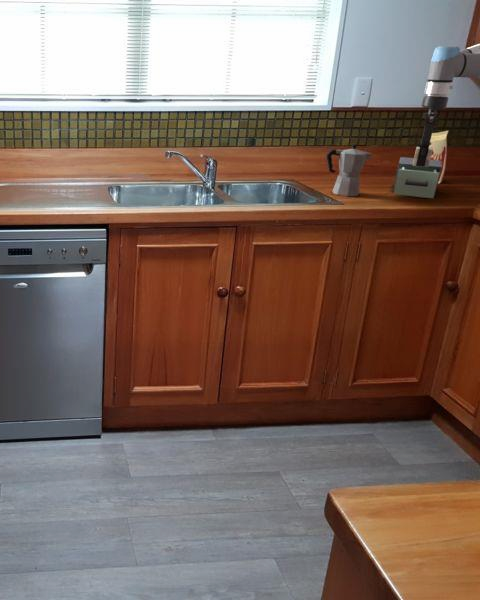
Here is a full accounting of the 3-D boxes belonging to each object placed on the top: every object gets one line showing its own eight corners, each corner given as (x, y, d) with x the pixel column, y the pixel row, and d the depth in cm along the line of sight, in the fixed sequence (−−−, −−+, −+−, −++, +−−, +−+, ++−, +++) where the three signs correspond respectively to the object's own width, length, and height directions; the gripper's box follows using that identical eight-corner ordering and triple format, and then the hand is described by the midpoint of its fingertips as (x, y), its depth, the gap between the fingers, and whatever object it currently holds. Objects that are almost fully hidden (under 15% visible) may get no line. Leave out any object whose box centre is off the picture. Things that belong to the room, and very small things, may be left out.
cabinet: (434, 197, 220) (441, 167, 215) (392, 192, 226) (398, 163, 221) (434, 188, 233) (441, 160, 228) (394, 184, 238) (400, 157, 234)
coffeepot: (362, 192, 225) (372, 142, 218) (367, 197, 217) (377, 146, 210) (318, 189, 229) (327, 140, 222) (321, 194, 220) (330, 144, 213)
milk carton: (442, 180, 249) (454, 129, 241) (440, 183, 241) (453, 132, 234) (417, 177, 253) (429, 127, 245) (415, 181, 246) (426, 130, 238)
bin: (433, 202, 208) (439, 176, 205) (392, 197, 214) (398, 172, 210) (433, 190, 225) (439, 166, 222) (395, 186, 231) (400, 163, 227)
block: (428, 165, 216) (432, 147, 213) (428, 167, 212) (432, 149, 209) (412, 163, 218) (416, 146, 216) (412, 165, 214) (416, 148, 212)
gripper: (449, 97, 197) (432, 169, 206) (448, 94, 211) (432, 161, 221) (423, 96, 200) (407, 167, 209) (424, 93, 215) (409, 159, 224)
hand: (420, 164), depth 215 cm, fingers closed on block, 5 cm apart
